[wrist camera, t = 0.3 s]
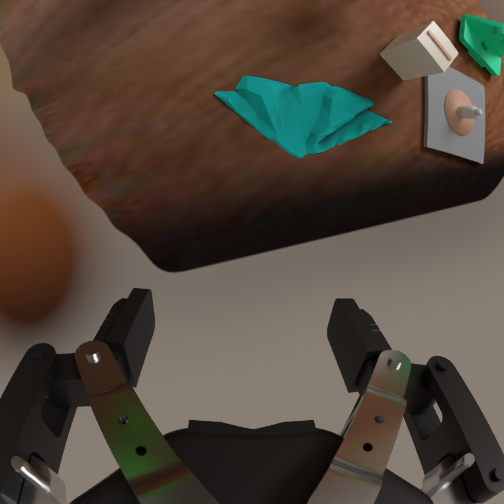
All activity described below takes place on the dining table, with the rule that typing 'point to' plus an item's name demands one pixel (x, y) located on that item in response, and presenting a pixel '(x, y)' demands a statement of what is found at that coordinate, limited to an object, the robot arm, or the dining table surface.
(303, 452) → the robot arm
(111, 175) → the dining table surface
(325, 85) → the cloth
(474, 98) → the base
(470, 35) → the camera mount
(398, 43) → the striped cream block
